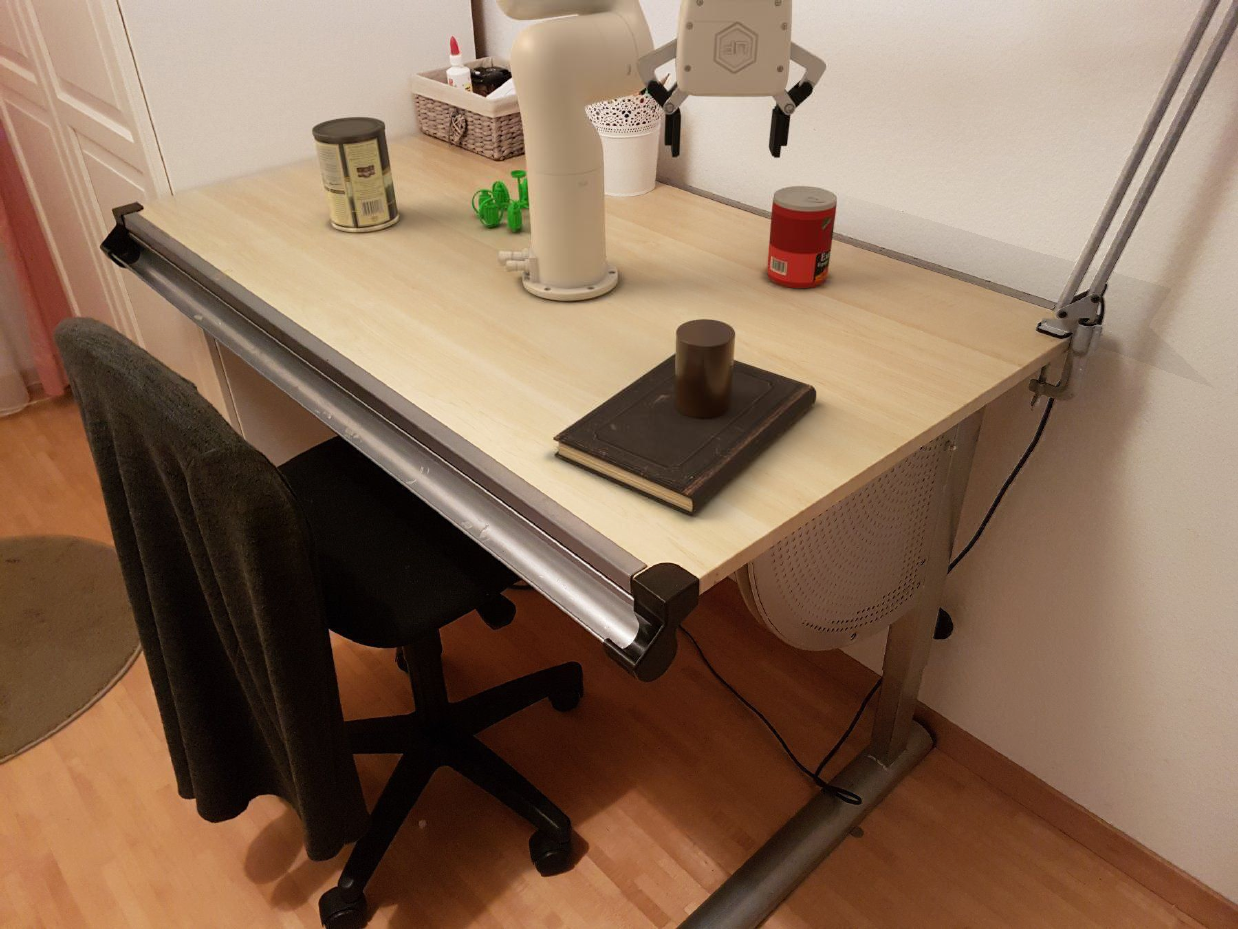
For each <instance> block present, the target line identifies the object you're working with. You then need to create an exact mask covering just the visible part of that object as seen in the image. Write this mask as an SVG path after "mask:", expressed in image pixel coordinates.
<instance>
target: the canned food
mask: <svg viewBox="0 0 1238 929" xmlns="http://www.w3.org/2000/svg"><path fill="white" fill-rule="evenodd" d="M837 202H838V199H837V195H836V194H834V192H832V191H830V190H827V189H824V188H820V187H817V186H809V185H807V186H806V185H794V186H786V187H782V188H779V189H778V190H775V191H774V193H773V197H772V205H771V216H770V229H769V230H770V231H769V240H768V254H767V263H766V264H767V265H766V272H767V276H768V278H769V279H770V280H771V281H772V282H773V283H774V284H777V285H779V286H782V287H786V288H792V289H809V288H814V287H817V286H820V285H821V284H823V283H824V282H825V280H826V278H827V277H828V274H829V266H830V259H831V252H832V244H833V237H834V236H833V235H834V229H835V222H836V215H837V204H838V203H837Z"/></svg>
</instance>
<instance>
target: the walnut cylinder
mask: <svg viewBox="0 0 1238 929" xmlns="http://www.w3.org/2000/svg"><path fill="white" fill-rule="evenodd" d="M735 344H736V331H735V329H734V328H733V326H732V325H730V324H728V323H727V322H723V321H721V320H717V319H716V320H715V319H708V318H700V319H692V320H689V321H688V320H687V321H685V322H684V323H682V324H680V325H679V326H678V327H677V328H676V331H675V353H676V358H675V397H674V404H675V407H676V409H677V410H678V411H679V412H680V413H682V414H684V415H686V416H689V417H693V418H699V419H709V418H715V417H719V416H721V415H723V414H725V413H726V412H727V411H728V410H729V408H730V405H731V392H732V377H733V362H734V360H735V347H736V346H735Z"/></svg>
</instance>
